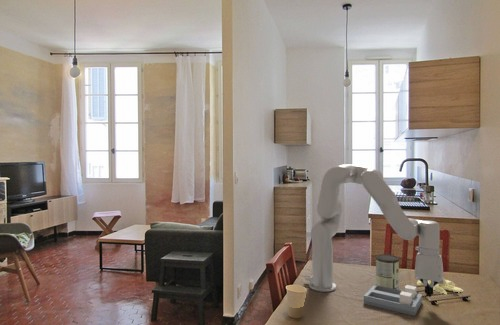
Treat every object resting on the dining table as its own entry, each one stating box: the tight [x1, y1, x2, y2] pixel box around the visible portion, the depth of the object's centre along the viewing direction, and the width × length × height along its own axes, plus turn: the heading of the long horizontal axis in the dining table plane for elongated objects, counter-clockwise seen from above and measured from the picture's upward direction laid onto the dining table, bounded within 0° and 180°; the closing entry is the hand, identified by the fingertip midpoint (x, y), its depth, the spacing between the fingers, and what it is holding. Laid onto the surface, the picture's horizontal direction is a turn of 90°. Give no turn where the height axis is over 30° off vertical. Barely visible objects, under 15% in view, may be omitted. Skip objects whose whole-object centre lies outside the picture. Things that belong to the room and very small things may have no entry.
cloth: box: [416, 277, 465, 295], centre depth 170 cm, size 22×19×6 cm
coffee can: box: [375, 253, 400, 290], centre depth 171 cm, size 10×10×14 cm
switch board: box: [363, 284, 423, 317], centre depth 152 cm, size 20×15×4 cm
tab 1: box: [403, 284, 418, 298], centre depth 152 cm, size 4×4×5 cm
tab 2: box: [399, 290, 412, 306], centre depth 145 cm, size 4×4×5 cm
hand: (429, 295), depth 148 cm, fingers closed
